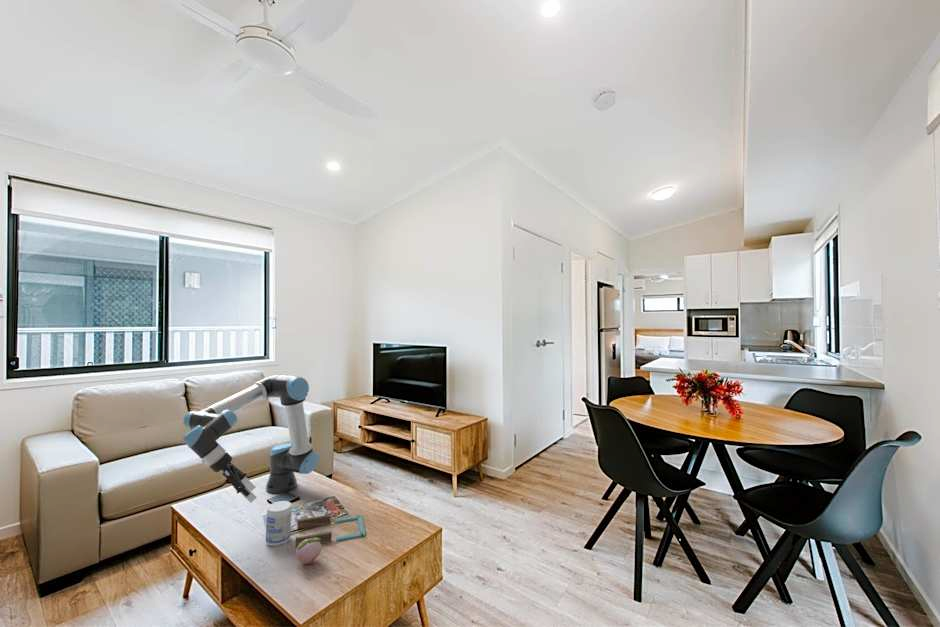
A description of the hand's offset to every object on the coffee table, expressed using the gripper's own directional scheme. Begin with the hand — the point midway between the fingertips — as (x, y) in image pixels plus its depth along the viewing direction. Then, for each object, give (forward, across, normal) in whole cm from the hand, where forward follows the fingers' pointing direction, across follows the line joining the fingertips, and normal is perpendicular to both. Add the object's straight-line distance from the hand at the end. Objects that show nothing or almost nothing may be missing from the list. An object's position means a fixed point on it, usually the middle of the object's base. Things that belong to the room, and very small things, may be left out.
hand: (253, 494), depth 164 cm
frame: (+39, +6, +17) cm, 43 cm away
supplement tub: (+22, +1, -5) cm, 23 cm away
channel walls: (+30, +4, +6) cm, 31 cm away
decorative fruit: (+29, +23, +1) cm, 37 cm away
